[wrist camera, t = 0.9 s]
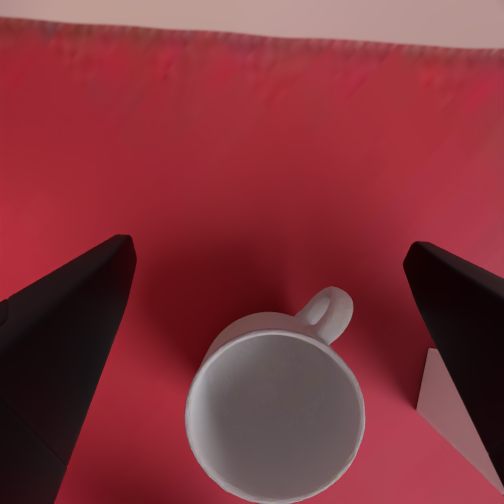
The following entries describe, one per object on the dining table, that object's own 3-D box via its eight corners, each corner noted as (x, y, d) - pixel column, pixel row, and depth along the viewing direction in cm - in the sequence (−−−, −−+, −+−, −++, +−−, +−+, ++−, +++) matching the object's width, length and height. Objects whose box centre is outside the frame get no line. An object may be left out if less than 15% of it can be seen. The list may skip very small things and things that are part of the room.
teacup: (264, 446, 25) (280, 543, 17) (172, 366, 24) (142, 431, 16) (373, 330, 25) (438, 374, 17) (285, 245, 24) (311, 251, 16)
